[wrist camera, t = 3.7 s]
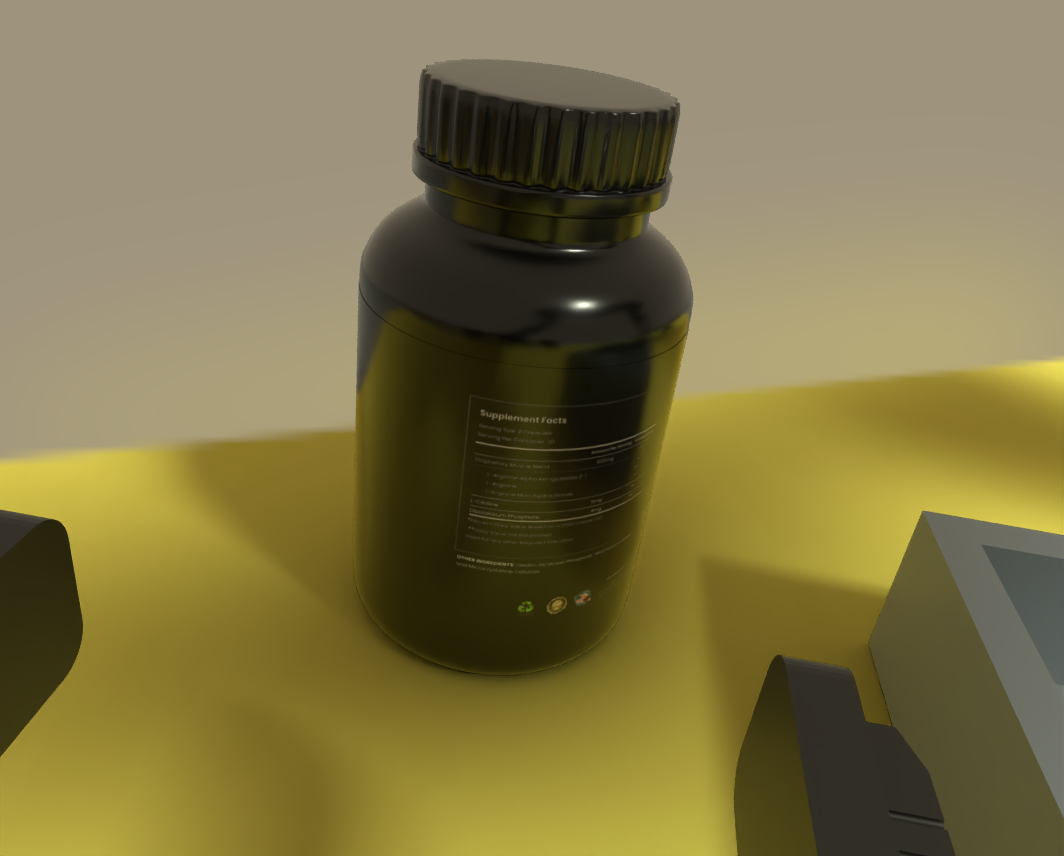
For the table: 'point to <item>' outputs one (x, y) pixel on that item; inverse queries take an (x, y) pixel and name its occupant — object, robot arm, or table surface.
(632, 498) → the supplement bottle
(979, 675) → the tray
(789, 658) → the robot arm
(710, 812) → the table surface
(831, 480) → the table surface
